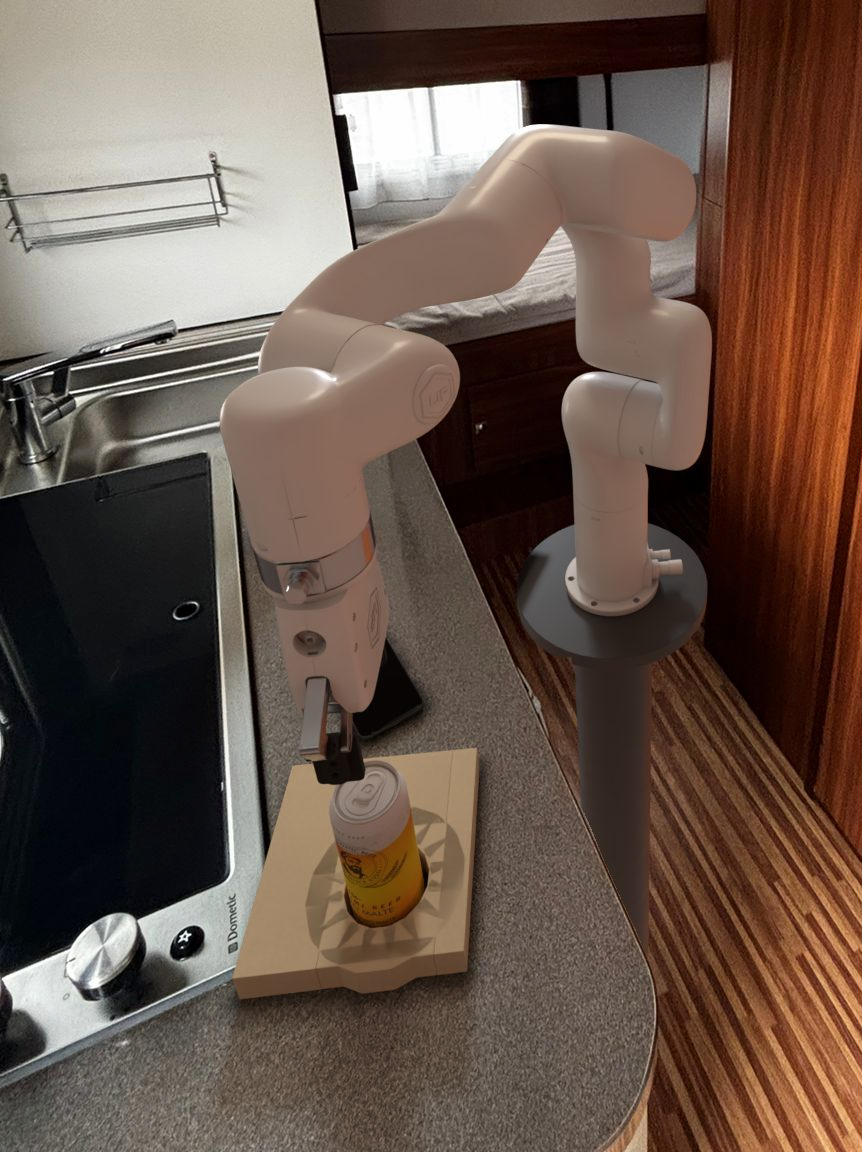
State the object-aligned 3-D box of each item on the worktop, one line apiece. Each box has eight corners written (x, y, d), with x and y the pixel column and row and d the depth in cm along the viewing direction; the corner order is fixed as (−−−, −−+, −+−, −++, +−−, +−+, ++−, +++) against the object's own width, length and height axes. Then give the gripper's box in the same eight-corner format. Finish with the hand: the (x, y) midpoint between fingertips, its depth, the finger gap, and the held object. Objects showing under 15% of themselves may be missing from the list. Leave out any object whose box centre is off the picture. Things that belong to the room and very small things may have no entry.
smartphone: (427, 709, 89) (377, 623, 100) (427, 703, 89) (376, 618, 100) (361, 746, 85) (316, 652, 96) (360, 740, 85) (315, 647, 96)
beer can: (340, 928, 70) (310, 816, 63) (378, 857, 75) (354, 747, 69) (403, 950, 68) (380, 837, 62) (437, 876, 73) (419, 765, 67)
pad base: (479, 767, 83) (477, 747, 82) (466, 981, 66) (463, 960, 65) (297, 785, 81) (292, 765, 80) (236, 1009, 64) (228, 988, 63)
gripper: (347, 643, 47) (388, 826, 55) (392, 462, 63) (419, 624, 70) (213, 655, 46) (273, 839, 54) (292, 469, 62) (330, 632, 69)
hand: (355, 717), depth 62 cm, fingers open, 9 cm apart
